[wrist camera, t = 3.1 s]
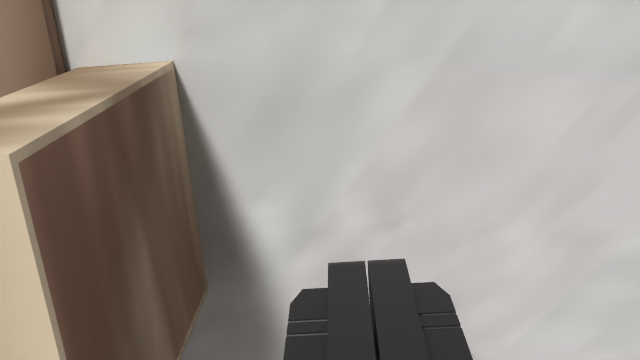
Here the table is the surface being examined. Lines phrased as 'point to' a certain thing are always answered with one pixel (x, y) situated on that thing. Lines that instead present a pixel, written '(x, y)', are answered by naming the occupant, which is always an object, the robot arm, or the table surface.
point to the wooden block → (97, 218)
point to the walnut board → (27, 44)
